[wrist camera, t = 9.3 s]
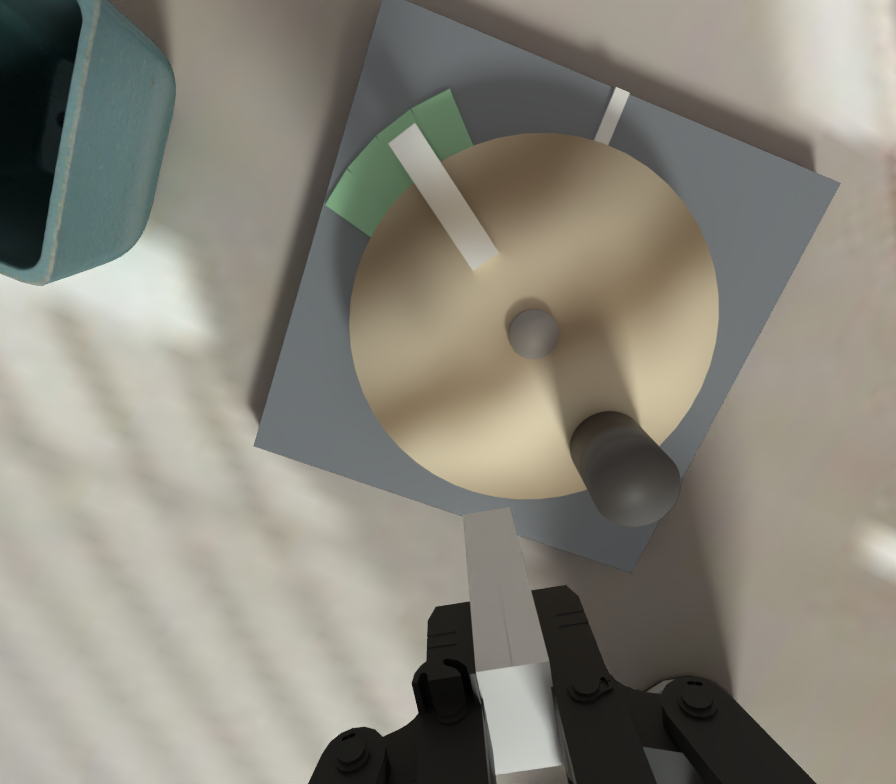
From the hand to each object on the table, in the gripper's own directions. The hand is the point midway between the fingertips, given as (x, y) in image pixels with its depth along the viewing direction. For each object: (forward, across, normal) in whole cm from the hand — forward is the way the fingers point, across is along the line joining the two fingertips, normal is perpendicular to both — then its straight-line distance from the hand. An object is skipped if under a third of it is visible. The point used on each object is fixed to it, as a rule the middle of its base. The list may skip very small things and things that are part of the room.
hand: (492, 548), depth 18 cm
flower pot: (+11, -14, +16) cm, 24 cm away
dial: (+9, +3, +6) cm, 11 cm away
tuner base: (+10, +3, +5) cm, 12 cm away
